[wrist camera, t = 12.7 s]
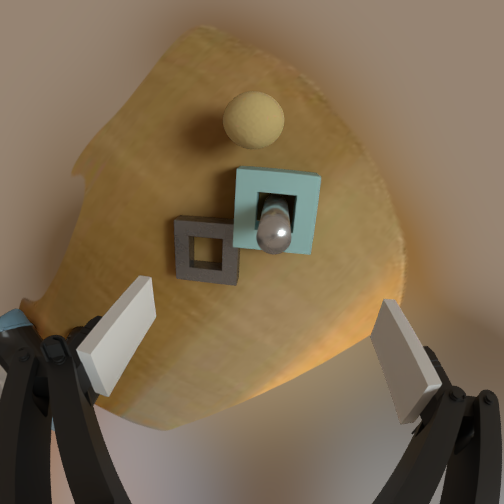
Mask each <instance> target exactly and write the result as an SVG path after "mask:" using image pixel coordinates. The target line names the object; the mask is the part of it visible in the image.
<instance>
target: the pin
mask: <svg viewBox="0 0 504 504" xmlns="http://www.w3.org/2000/svg"><path fill="white" fill-rule="evenodd" d="M291 238H292V237H291V228H290V219H289V211H288V203H287V200H286V199H285V197H283V196H282V195H280V194H272V195H270V196H268V197H267V198H266V200H265V202H264V206H263V210H262V214H261V218H260V223H259V227H258V231H257V235H256V240H257V243H258V245H259V247H260V248H261V249H262V250H263V251H264V252H266V253H269V254H279V253H282V252H284V251H285V250H286V249H287V248H288V247H289V245H290V243H291Z"/></svg>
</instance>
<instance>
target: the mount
mask: <svg viewBox="0 0 504 504" xmlns="http://www.w3.org/2000/svg"><path fill="white" fill-rule="evenodd" d="M233 232H234V219H224V218H212V217H199V216H185V215H180V216H178V217H177V218H176V219H175V220H174V239H175V261H176V278H177V279H184V280H192V281H201V282H209V283H217V284H226V285H235V286H236V285H237V281H238V278H239V260H240V248H238V247H233ZM194 236H196V237H207V238H218V239H223V253H222V263H216V262H206V261H197V260H194Z"/></svg>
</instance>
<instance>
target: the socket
mask: <svg viewBox="0 0 504 504" xmlns="http://www.w3.org/2000/svg"><path fill="white" fill-rule="evenodd" d="M320 183H321V176H320V175H318V174H317V173H312V172H304V171H295V170H285V169H275V168H264V167H251V166H240V167H239V168H237V174H236V192H235V212H234V232H233V247H238V248H248V249H258V250H262V249H261V248H260V247H259V245H258V243H257V240H256V235H257V231H258V227H259V223H260V221H257V213H258V199H259V192H266V193H277V194H287V195H295V198H294V208H293V216H292V224H290V228H291V237H292V238H291V243H290V245H289V247H288V248H287V249H286V250H285V251H284V252H289V253H299V254H309V255H311V248H312V242H313V235H314V228H315V221H316V214H317V207H318V199H319V191H320Z"/></svg>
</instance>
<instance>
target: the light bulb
mask: <svg viewBox="0 0 504 504" xmlns="http://www.w3.org/2000/svg"><path fill="white" fill-rule="evenodd" d="M223 126H224V129H225V132H226V134H227V135H228V137H229V138H230V139H231V140H232V141H233V142H234V143H236V144H237V145H239V146H241V147H243V148H247V149H260V148H264V147H266V146H268V145H270V144H272V143H273V142H274V141H275V140H276V139H277V138H278V137H279V136H280V134H281V132H282V130H283V127H284V114H283V111H282V109H281V107H280V105H279V104H278V103H277V102H276V101H275V100H274V99H273V98H272V97H271V96H269V95H267V94H265V93H262V92H257V91H250V92H245V93H242V94H240V95H238V96H237V97H235V98H234V99H233V100H232V101H231V102H230V103H229V104H228V105H227V107H226V109H225V111H224V115H223Z"/></svg>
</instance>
